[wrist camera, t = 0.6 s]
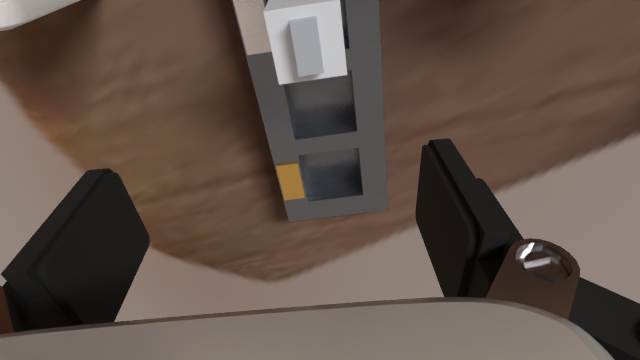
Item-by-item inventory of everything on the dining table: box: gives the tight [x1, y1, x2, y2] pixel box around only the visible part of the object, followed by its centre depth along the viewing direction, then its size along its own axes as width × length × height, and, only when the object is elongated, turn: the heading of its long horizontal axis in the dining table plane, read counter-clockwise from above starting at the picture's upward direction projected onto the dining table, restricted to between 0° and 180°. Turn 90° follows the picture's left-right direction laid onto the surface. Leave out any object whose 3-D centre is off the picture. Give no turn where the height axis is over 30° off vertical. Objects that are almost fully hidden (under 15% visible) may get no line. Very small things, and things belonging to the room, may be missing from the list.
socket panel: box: [232, 0, 388, 222], centre depth 31 cm, size 10×24×4 cm, turn 8°
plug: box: [263, 0, 347, 85], centre depth 24 cm, size 4×4×11 cm
